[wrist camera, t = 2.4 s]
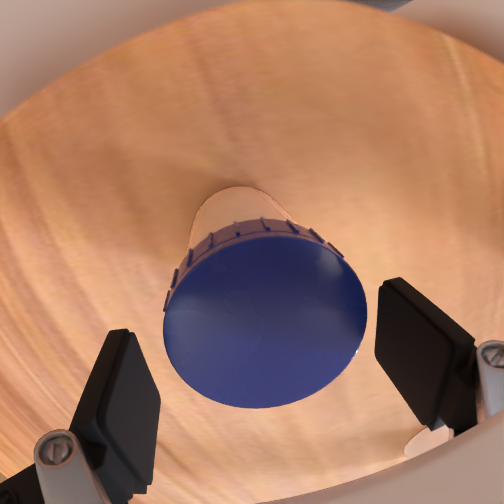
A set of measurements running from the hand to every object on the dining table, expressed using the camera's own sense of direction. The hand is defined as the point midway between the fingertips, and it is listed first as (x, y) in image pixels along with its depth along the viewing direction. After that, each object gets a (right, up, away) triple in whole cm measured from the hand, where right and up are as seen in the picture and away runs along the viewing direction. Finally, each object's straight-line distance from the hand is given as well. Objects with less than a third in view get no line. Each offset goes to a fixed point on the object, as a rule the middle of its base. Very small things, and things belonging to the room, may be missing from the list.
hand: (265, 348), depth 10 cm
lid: (0, +1, +1) cm, 1 cm away
